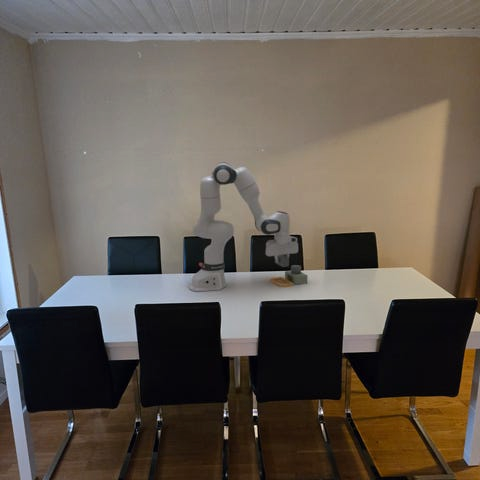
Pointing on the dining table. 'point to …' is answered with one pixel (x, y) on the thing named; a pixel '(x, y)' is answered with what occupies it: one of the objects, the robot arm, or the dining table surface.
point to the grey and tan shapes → (291, 277)
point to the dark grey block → (283, 261)
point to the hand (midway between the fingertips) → (281, 261)
